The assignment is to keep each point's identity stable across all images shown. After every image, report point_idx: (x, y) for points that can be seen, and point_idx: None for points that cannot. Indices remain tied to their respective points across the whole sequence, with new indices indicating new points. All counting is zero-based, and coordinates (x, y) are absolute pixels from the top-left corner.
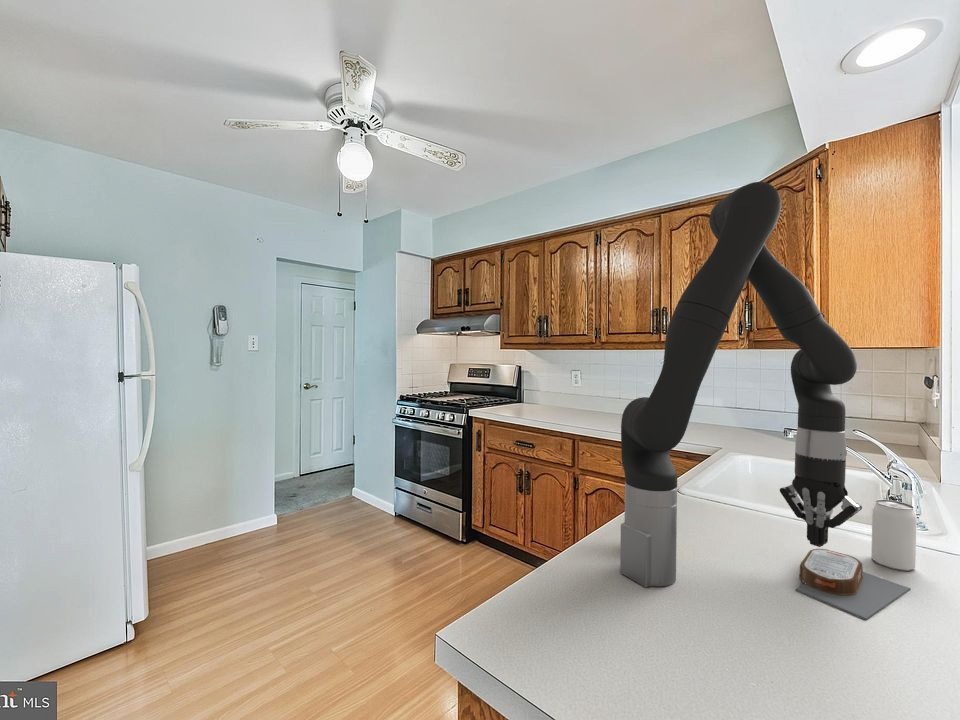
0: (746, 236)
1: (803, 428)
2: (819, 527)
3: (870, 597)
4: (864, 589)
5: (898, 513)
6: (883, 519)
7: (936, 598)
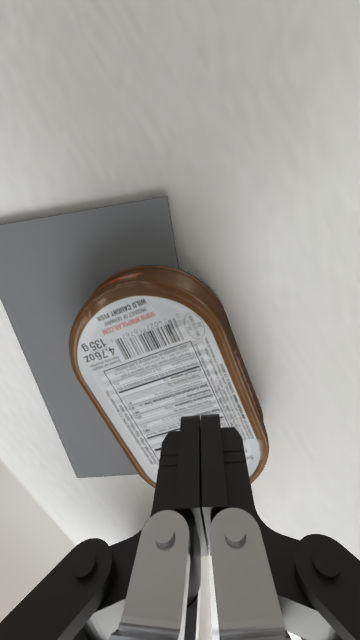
0: None
1: None
2: (167, 510)
3: (63, 362)
4: None
5: None
6: None
7: (40, 479)
